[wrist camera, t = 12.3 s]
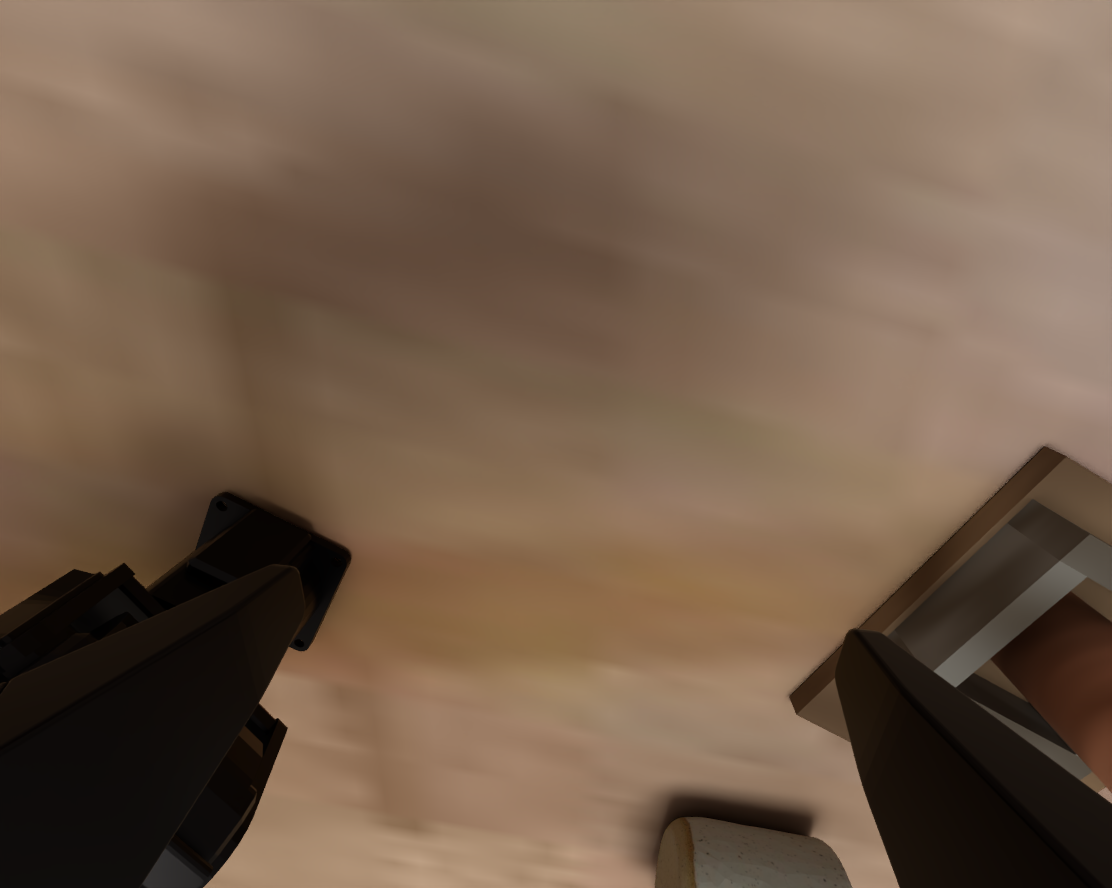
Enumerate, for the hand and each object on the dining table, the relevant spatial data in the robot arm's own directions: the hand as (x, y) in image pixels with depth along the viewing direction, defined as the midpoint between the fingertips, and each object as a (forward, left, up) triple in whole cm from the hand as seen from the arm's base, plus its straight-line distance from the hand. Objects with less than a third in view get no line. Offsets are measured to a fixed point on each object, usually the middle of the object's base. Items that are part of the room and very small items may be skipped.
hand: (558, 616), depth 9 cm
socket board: (-1, -23, -13) cm, 26 cm away
